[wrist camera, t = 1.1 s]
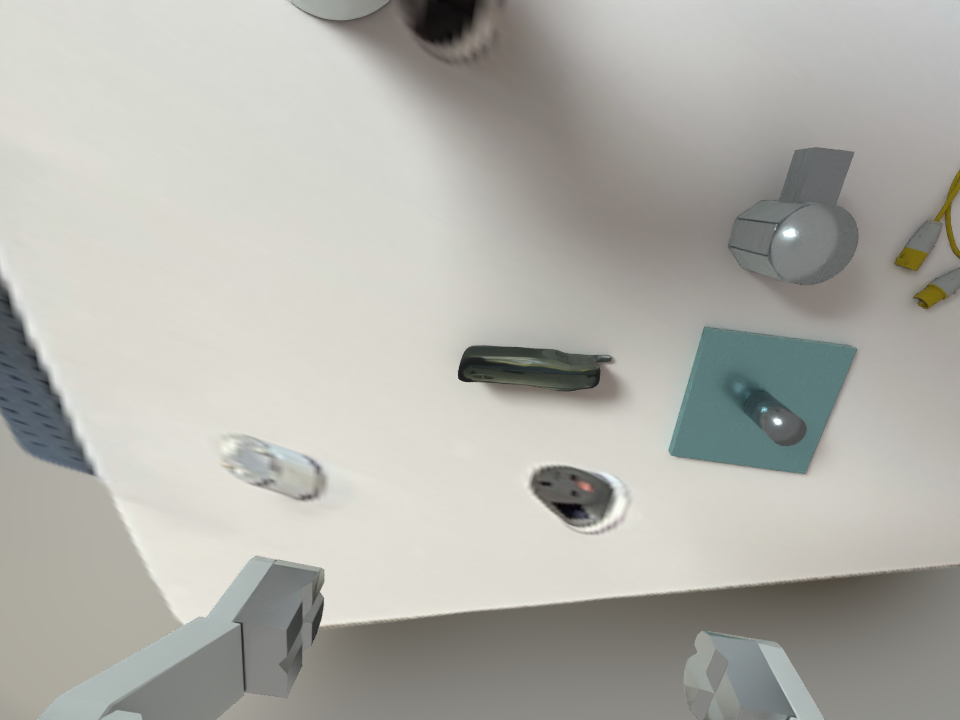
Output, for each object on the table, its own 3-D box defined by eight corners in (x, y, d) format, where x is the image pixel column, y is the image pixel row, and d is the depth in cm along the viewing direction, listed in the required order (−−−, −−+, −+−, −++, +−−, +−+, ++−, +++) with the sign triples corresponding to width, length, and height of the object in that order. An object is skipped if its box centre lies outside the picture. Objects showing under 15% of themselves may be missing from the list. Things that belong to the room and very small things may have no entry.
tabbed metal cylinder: (755, 151, 40) (806, 142, 33) (826, 159, 40) (892, 152, 33) (722, 265, 44) (762, 279, 37) (787, 273, 44) (840, 289, 36)
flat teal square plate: (704, 326, 46) (733, 347, 40) (850, 345, 45) (901, 369, 39) (668, 450, 51) (689, 486, 45) (799, 468, 50) (838, 507, 44)
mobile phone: (456, 387, 45) (616, 396, 44) (456, 358, 44) (620, 365, 43) (463, 369, 50) (608, 375, 48) (463, 342, 49) (611, 348, 47)
